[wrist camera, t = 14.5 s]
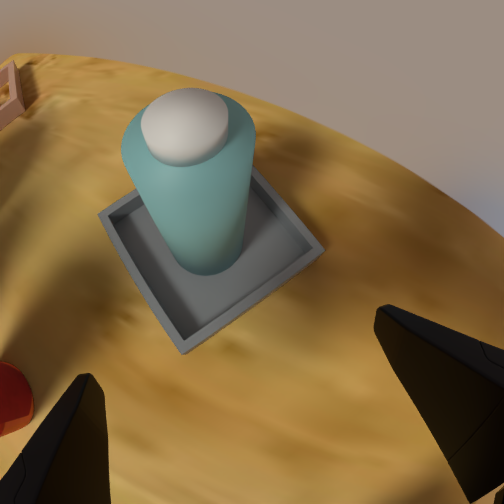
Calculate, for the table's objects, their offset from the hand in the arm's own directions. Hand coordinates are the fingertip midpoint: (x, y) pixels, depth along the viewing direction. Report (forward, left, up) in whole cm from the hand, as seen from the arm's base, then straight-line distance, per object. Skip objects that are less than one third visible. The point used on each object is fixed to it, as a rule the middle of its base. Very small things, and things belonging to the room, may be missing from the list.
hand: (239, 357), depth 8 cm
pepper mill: (+3, +7, -11) cm, 13 cm away
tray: (+3, +7, -11) cm, 14 cm away
